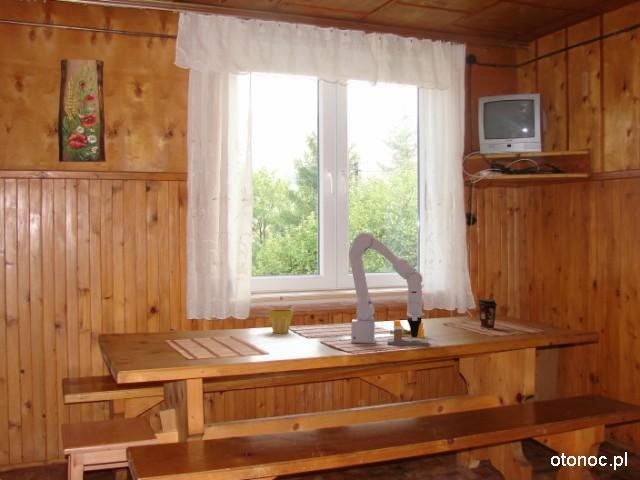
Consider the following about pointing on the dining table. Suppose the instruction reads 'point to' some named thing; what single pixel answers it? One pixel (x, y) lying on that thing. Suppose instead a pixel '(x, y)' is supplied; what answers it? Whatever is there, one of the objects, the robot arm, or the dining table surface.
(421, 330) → the pipe clamp
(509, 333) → the dining table surface
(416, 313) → the robot arm
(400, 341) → the eye block
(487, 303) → the coffee cup
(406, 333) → the pin
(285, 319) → the plant pot
